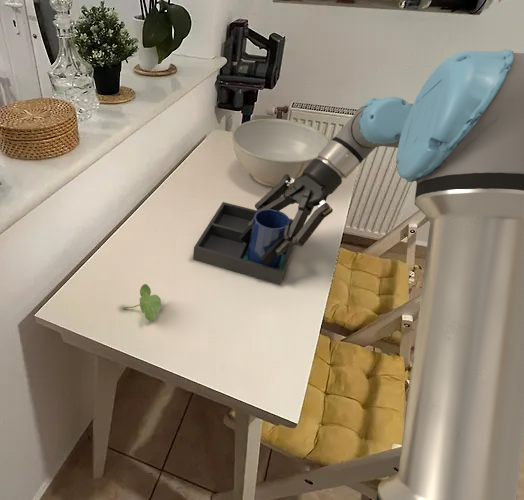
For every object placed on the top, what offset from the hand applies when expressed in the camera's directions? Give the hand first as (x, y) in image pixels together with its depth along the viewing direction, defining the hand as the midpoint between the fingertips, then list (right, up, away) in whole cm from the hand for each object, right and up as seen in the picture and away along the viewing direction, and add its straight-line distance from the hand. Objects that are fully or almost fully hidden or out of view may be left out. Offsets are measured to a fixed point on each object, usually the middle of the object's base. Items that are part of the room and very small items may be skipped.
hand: (252, 251), depth 92 cm
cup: (+3, -2, +3) cm, 5 cm away
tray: (+1, +1, +9) cm, 10 cm away
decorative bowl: (+12, +22, +35) cm, 43 cm away
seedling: (-23, -12, -7) cm, 27 cm away
